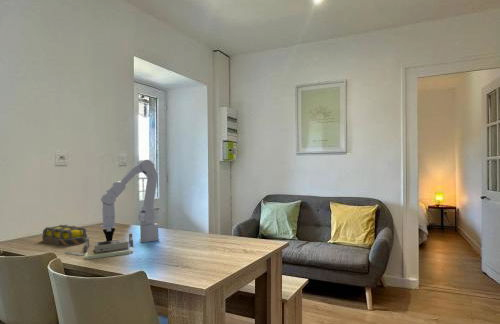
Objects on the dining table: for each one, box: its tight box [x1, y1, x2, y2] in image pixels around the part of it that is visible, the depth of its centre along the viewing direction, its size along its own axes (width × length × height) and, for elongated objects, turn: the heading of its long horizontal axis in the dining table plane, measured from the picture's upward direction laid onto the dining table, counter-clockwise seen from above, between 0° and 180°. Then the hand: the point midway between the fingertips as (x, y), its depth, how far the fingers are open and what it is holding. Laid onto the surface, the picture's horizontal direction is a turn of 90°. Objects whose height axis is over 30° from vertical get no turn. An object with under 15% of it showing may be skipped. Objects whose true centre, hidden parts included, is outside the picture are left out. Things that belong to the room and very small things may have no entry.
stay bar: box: [64, 251, 86, 257], centre depth 150 cm, size 2×12×1 cm, turn 63°
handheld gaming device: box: [94, 239, 129, 253], centre depth 158 cm, size 9×15×4 cm, turn 118°
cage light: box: [41, 224, 88, 247], centre depth 179 cm, size 15×8×30 cm
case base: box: [83, 232, 134, 253], centre depth 163 cm, size 23×13×4 cm, turn 114°
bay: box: [84, 246, 134, 260], centre depth 148 cm, size 20×9×1 cm, turn 114°
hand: (109, 243), depth 163 cm, fingers closed
